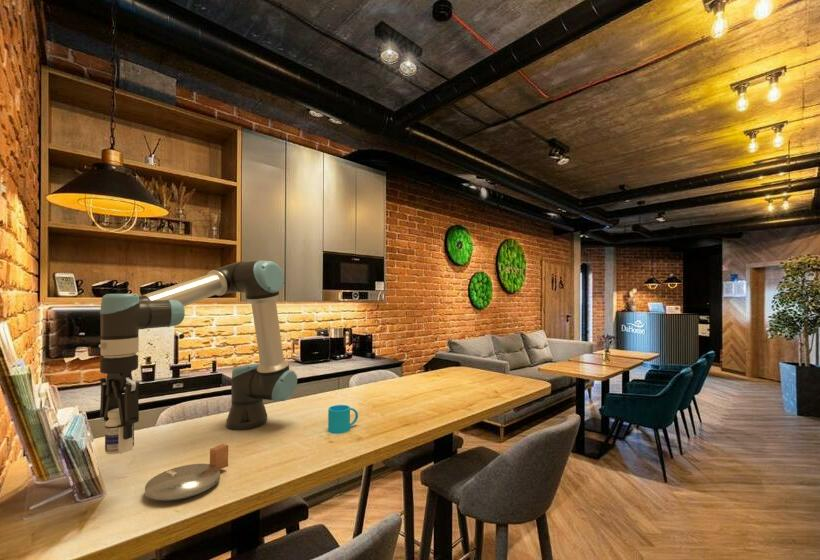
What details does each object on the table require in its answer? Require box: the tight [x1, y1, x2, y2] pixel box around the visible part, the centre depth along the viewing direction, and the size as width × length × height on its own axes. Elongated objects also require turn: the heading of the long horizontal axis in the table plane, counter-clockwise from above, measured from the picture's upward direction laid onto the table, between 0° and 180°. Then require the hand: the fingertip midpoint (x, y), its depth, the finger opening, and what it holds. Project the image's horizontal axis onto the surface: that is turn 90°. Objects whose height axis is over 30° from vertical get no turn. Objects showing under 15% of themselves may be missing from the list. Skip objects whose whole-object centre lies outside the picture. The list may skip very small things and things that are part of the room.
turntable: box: [144, 443, 229, 502], centre depth 100 cm, size 17×20×6 cm
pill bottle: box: [104, 408, 135, 455], centre depth 93 cm, size 6×6×10 cm
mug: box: [327, 404, 359, 434], centre depth 143 cm, size 12×8×8 cm
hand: (118, 448), depth 92 cm, fingers closed on pill bottle, 6 cm apart
